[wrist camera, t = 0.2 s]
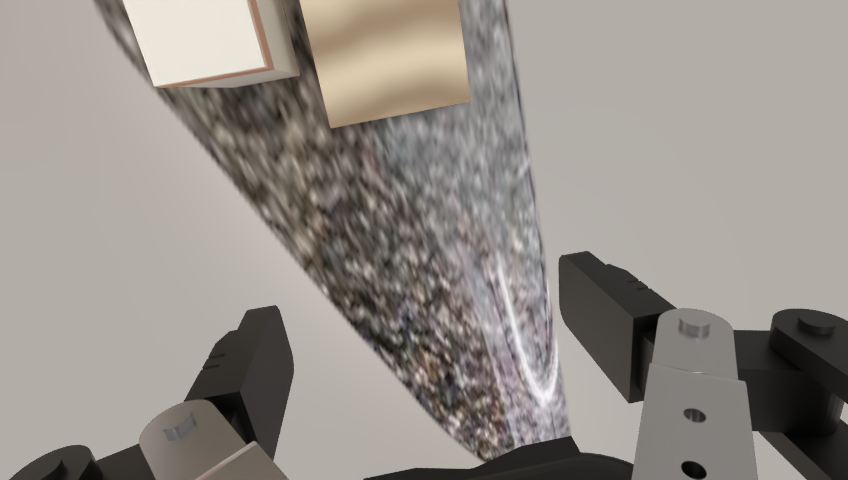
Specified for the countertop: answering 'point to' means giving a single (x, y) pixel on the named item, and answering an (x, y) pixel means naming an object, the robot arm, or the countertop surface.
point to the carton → (213, 41)
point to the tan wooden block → (386, 56)
